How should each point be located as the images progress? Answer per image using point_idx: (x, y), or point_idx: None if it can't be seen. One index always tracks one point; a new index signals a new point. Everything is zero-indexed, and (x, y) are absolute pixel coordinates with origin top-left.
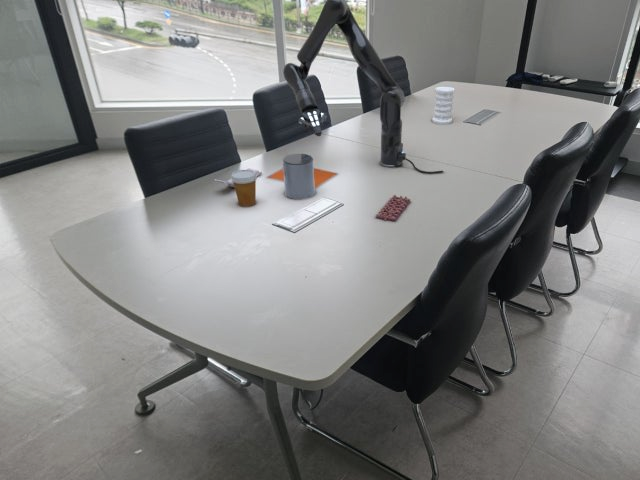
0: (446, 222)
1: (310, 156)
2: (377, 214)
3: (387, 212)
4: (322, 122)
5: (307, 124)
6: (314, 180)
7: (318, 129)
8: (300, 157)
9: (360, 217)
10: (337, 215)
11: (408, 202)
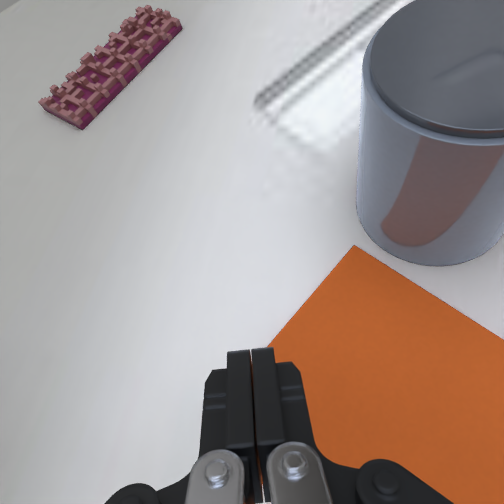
0: (31, 17)
1: (381, 80)
2: (175, 20)
3: (144, 23)
4: (116, 499)
5: (433, 501)
6: (350, 336)
7: (242, 387)
8: (459, 64)
9: (225, 31)
10: (291, 39)
11: (53, 95)
